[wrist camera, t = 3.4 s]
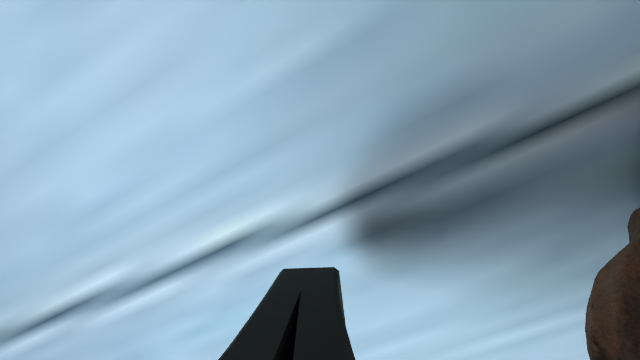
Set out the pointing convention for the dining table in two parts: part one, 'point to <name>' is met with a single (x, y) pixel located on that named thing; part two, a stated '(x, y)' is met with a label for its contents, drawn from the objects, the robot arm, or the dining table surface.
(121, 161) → the dining table surface
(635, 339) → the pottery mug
